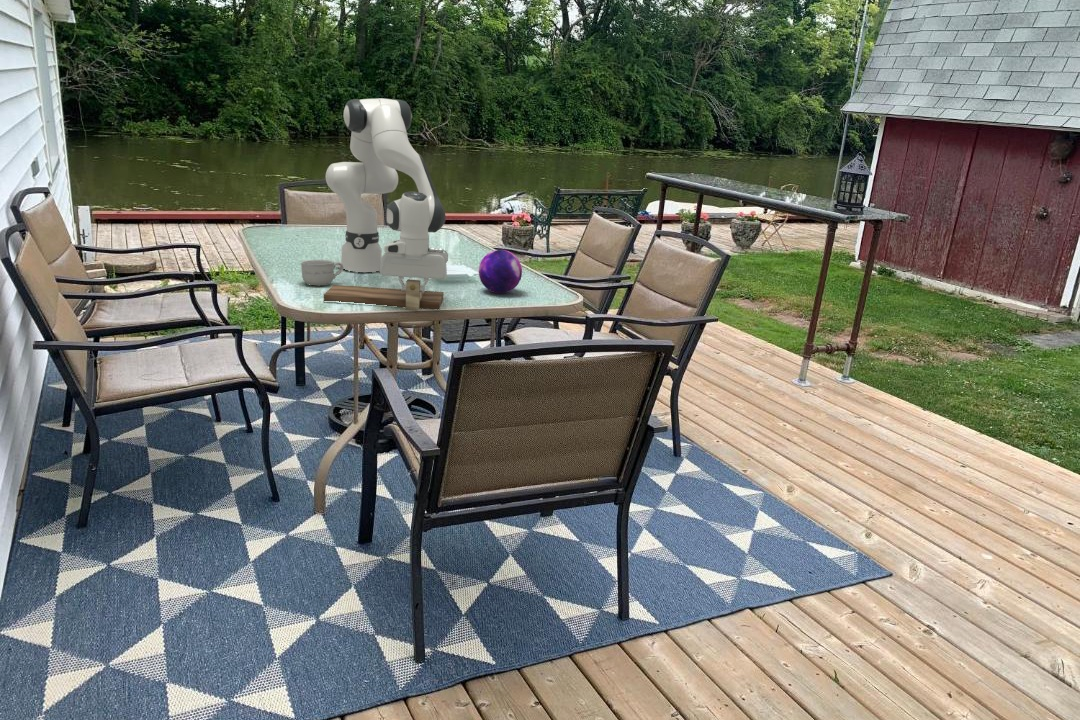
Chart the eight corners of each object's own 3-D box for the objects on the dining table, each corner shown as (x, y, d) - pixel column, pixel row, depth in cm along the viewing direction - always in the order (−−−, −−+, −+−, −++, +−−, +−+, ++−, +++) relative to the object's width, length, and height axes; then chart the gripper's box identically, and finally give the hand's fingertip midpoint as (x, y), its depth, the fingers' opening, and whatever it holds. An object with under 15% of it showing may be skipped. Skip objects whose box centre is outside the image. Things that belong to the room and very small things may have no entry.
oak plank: (333, 292, 265) (333, 284, 264) (443, 299, 266) (443, 291, 266) (323, 302, 252) (323, 294, 251) (439, 309, 253) (439, 302, 252)
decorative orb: (488, 285, 291) (490, 244, 286) (527, 291, 286) (529, 249, 281) (470, 293, 277) (472, 250, 273) (510, 300, 272) (513, 256, 268)
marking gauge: (412, 297, 265) (412, 270, 262) (424, 298, 265) (425, 271, 262) (405, 310, 249) (406, 281, 246) (418, 311, 249) (419, 282, 246)
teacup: (301, 288, 267) (301, 264, 265) (301, 280, 277) (300, 257, 275) (344, 288, 271) (344, 264, 269) (342, 281, 281) (342, 258, 279)
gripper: (449, 247, 248) (447, 291, 253) (382, 242, 248) (382, 286, 252) (447, 251, 242) (445, 295, 247) (379, 246, 242) (378, 291, 246)
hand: (413, 291), depth 249 cm, fingers closed on marking gauge, 4 cm apart
